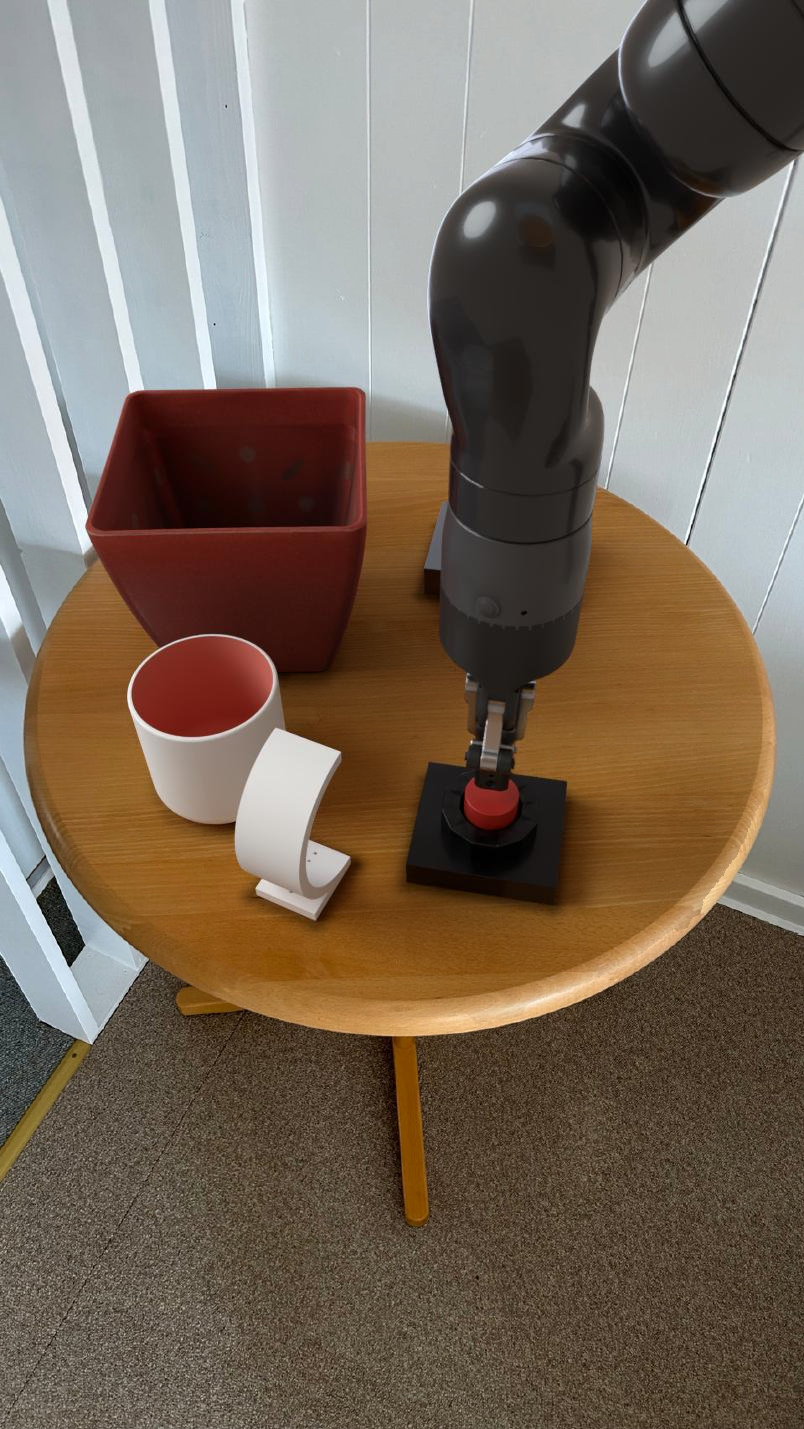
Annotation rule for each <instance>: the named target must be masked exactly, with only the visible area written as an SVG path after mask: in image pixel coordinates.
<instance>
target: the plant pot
mask: <svg viewBox="0 0 804 1429" xmlns="http://www.w3.org/2000/svg"><path fill="white" fill-rule="evenodd" d="M123 401H124V402H123V404H122V408H121V412H120V415H119V417H118V422H117V425H116V428H115V432H114V435H113V438H112V442H111V445H110V448H109V451H108V454H107V457H106V462H105V463H104V464H105V465H104V467H103V470H102V472H101V476H100V479H99V483H98V485H97V489H96V492H95V494H94V497H93V500H92V503H91V506H90V509H89V511H88V515H87V517H86V521H85V524H84V528H85V532H86V534H87V536H88V538H89V541H90V542H91V544H92V547H93V548H94V551H95V553H96V555H97V556H98V558H99V560H100V562H101V564H102V566H103V568H104V570H105V571H106V573H107V575H108V577H109V578H110V581H111V582H112V584H113V586H114V587H115V589H116V591H117V592H118V594H119V595H120V597H121V598H122V600H123V602H124V603H125V605H126V606H127V608H128V609H129V611H130V612H131V614H132V615H133V617H134V618H135V619H136V621H137V622H138V624H139V625H140V626H141V627H142V629H143V631H144V632H145V633H146V634H147V635H148V637H149V638H150V639H151V640H152V642H153V643H154V644H155V645H156V646H157V648H158V649H160V648H162V647H164V646H166V645H168V644H170V643H172V642H175V641H177V640H180V639H183V638H187V637H191V636H197V635H206V634H221V635H229V636H234V637H238V638H241V639H244V640H247V641H249V642H251V643H253V644H255V645H256V646H258V647H259V648H261V649H262V650H263V651H264V652H265V653H266V654H267V655H268V656H269V657H270V658H271V660H272V662H273V663H274V665H275V668H276V671H277V673H290V672H291V673H298V672H299V673H300V672H323V671H327V670H329V669H330V668H331V667H332V666H333V665H334V662H335V660H336V659H337V656H338V653H339V651H340V648H341V646H342V643H343V641H344V638H345V635H346V633H347V629H348V627H349V623H350V620H351V617H352V613H353V609H354V606H355V602H356V598H357V593H358V589H359V586H360V585H359V584H360V580H361V574H362V570H363V563H364V557H365V549H366V542H367V533H368V532H367V530H368V484H367V483H368V482H367V479H368V478H367V440H366V439H367V437H366V433H367V432H366V430H367V429H366V422H367V421H366V418H367V417H366V416H367V415H366V413H367V411H366V410H367V408H366V407H367V395H366V392H365V391H364V390H363V389H362V388H360V387H356V386H323V387H322V386H321V387H319V386H318V387H316V386H315V387H311V386H310V387H259V388H258V387H257V388H255V387H254V388H251V387H250V388H210V389H209V388H205V389H202V388H201V389H200V388H198V389H190V388H189V389H141V390H140V389H139V390H136V391H135V390H134V391H133V392H131V393H129V394H127V396H126V397H125V398H124V400H123Z"/></svg>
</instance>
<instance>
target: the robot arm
mask: <svg viewBox="0 0 804 1429" xmlns="http://www.w3.org/2000/svg"><path fill="white" fill-rule="evenodd" d="M802 154H804V0H645V1H644V2H643V3H642V5H641V6H640V8H639V9H638V11H636V13H635V15H634V16H633V17H632V19H631V21H630V22H629V24H628V26H627V28H626V30H625V31H624V34H623V36H622V39H621V43H620V44H619V45H618V46H617V47H616V48H615V49H614V50H613V51H612V52H611V53H610V54H609V55H608V56H607V57H606V58H605V59H604V60H603V61H602V63H600V64H599V65H598V66H597V67H596V68H595V69H594V70H593V71H592V72H591V73H590V74H589V75H588V77H587V78H585V80H584V81H582V82H581V84H580V85H579V86H578V87H577V88H576V89H575V90H574V91H573V92H572V93H571V94H570V95H569V96H568V97H567V98H566V99H565V100H564V101H563V103H561V104H560V106H558V107H557V108H556V110H554V111H553V113H551V114H550V115H549V116H548V117H546V119H545V120H544V121H543V122H542V123H541V124H540V125H539V126H538V127H537V128H536V129H535V130H533V132H532V133H531V134H530V135H529V136H528V137H526V139H524V140H523V141H522V142H521V143H520V144H519V145H518V146H517V147H516V148H514V149H513V150H512V151H510V152H509V153H508V154H507V155H506V156H504V157H503V158H502V159H501V160H499V162H497V163H496V164H495V165H493V166H492V167H491V168H489V170H487V171H486V172H484V174H482V175H481V176H480V177H478V178H477V179H475V180H474V181H473V182H472V183H471V184H470V185H468V187H466V188H465V189H464V190H463V191H462V192H461V193H460V194H459V195H458V196H457V197H456V198H455V200H454V201H453V202H452V204H451V205H450V207H449V208H448V209H447V211H446V213H445V215H444V216H443V219H442V221H441V223H440V226H439V227H438V229H437V232H436V236H435V239H434V243H433V247H432V251H431V255H430V262H429V269H428V276H427V277H428V278H427V292H426V294H427V296H426V297H427V300H426V302H427V305H426V306H427V317H428V318H427V320H428V327H429V333H430V338H431V344H432V348H433V354H434V358H435V363H436V368H437V373H438V378H439V381H440V386H441V392H442V396H443V400H444V403H445V406H446V407H445V408H446V409H447V413H448V416H449V420H450V422H451V432H450V440H449V441H450V442H449V458H448V459H449V460H448V489H447V491H448V492H447V502H448V505H447V511H446V516H445V520H444V526H443V532H442V548H441V580H440V597H439V618H438V624H439V625H438V633H439V634H438V635H439V641H440V644H441V647H442V649H443V651H444V652H445V654H446V655H447V656H448V658H449V659H450V660H451V661H452V662H453V663H454V664H455V665H456V666H457V667H458V668H459V669H461V670H463V671H464V672H466V677H465V683H464V684H465V685H464V702H465V704H467V705H468V706H467V725H466V730H467V732H468V733H469V734H471V735H473V736H474V738H471V739H470V743H469V745H468V747H467V748H468V749H467V751H465V752H464V758H463V760H464V762H465V761H466V762H465V767H467V768H469V769H471V770H475V779H474V784H475V785H476V786H477V787H479V788H480V789H487V790H494V791H505V790H507V789H508V786H509V779H510V775H511V772H512V770H515V765H516V761H515V759H516V758H515V757H514V755H517V753H518V745H516V743H517V742H518V741H522V740H524V738H525V735H526V728H527V721H528V714H529V712H531V711H533V709H534V702H535V695H536V688H537V680H540V679H543V678H545V677H548V676H549V675H552V674H553V673H554V672H556V671H558V670H559V669H560V668H561V667H563V666H564V664H566V662H567V661H568V660H569V658H570V657H571V655H572V654H573V651H574V649H575V646H576V641H577V635H578V630H579V624H580V619H581V618H580V617H581V612H582V605H583V601H584V595H585V591H586V590H585V588H586V584H587V583H586V582H587V578H588V573H589V572H588V571H589V566H590V562H591V561H590V560H591V555H592V554H591V553H592V547H593V512H594V506H595V501H596V494H597V489H598V483H599V478H600V477H599V476H600V470H601V464H602V458H603V450H604V442H605V432H606V430H605V428H606V426H605V423H606V422H605V413H604V408H603V404H602V401H601V399H600V397H599V395H598V393H597V391H596V390H595V389H594V388H593V387H592V385H591V371H592V364H593V363H592V362H593V357H594V352H595V348H596V344H597V340H598V336H599V332H600V329H601V326H602V322H603V319H604V318H605V316H606V315H607V314H608V313H609V311H610V310H611V309H612V308H613V306H614V305H615V304H616V303H617V301H618V300H619V299H620V298H621V297H622V295H623V294H624V293H625V292H626V291H627V289H628V288H629V287H630V285H631V284H633V282H634V281H635V280H636V279H637V278H639V276H641V274H642V273H644V271H645V270H647V268H649V267H650V266H651V265H652V264H653V263H654V262H655V261H656V260H657V259H658V258H659V257H660V256H662V255H663V253H665V252H666V251H667V250H668V249H669V248H670V247H671V246H672V245H673V244H675V243H676V242H677V241H678V240H679V239H680V238H681V237H683V236H684V235H685V234H686V233H688V231H690V230H691V229H692V228H693V227H694V226H695V225H697V224H698V223H699V222H700V221H701V220H702V219H704V218H705V217H706V216H707V215H708V214H709V213H710V212H712V211H713V210H714V209H715V208H716V207H717V206H719V204H721V203H722V202H723V201H724V200H725V199H727V198H733V197H737V196H740V195H743V194H745V193H747V192H749V191H751V190H753V189H755V188H756V187H758V186H759V185H761V184H762V183H764V182H766V181H767V180H769V179H770V178H772V177H773V176H774V175H776V174H778V173H779V172H780V171H782V170H783V169H785V167H787V166H788V165H789V164H791V163H793V162H794V161H795V160H796V159H797V158H799V157H800V156H801V155H802Z"/></svg>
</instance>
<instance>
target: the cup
mask: <svg viewBox="0 0 804 1429" xmlns="http://www.w3.org/2000/svg"><path fill="white" fill-rule="evenodd" d="M278 676H279V675H278V672H277V671H276V668H275V665H274V663H273V662H272V660H271V658H270V657H269V656H268V655H267V654H266V653H265V652H264V651H263V650H262V649H261V648H259V647H258V646H256V645H255V644H253V643H251V642H249V641H247V640H244V639H241V638H238V637H234V636H229V635H221V634H206V635H197V636H191V637H187V638H183V639H180V640H177V641H175V642H172V643H170V644H168V645H166V646H164V647H162V648H158V649H157V650H155V651H154V652H153V653H151V654H150V655H149V656H147V657H146V658H145V659H144V660H143V661H142V662H141V663H140V664H139V666H137V668H136V670H135V671H134V672H133V674H132V676H131V679H130V681H129V684H128V688H127V695H126V696H127V705H128V709H129V712H130V715H131V718H132V721H133V724H134V728H135V730H136V733H137V734H136V735H137V738H138V739H139V743H140V746H141V749H142V752H143V755H144V759H145V761H146V765H147V767H148V771H149V774H150V777H151V781H152V783H153V786H154V789H155V791H156V794H157V795H158V797H159V798H160V800H161V801H162V803H163V804H164V805H165V806H166V807H167V808H168V809H169V810H171V811H172V812H173V813H175V814H176V815H177V816H179V817H182V818H183V819H185V820H186V819H187V820H189V821H191V822H194V823H199V824H204V825H205V824H206V825H223V824H230V823H234V822H235V823H236V820H237V814H238V809H239V805H240V801H241V798H242V795H243V791H244V788H245V785H246V783H247V780H248V777H249V775H250V772H251V770H252V768H253V765H254V763H255V761H256V759H257V757H258V755H259V753H260V751H261V750H262V748H263V746H264V744H265V743H266V741H267V739H268V738H269V736H270V735H271V733H272V732H273V731H274V729H275V728H278V729H281V730H284V731H286V732H287V729H286V723H285V717H284V716H285V715H284V710H283V702H282V696H281V695H282V694H281V689H280V683H279V677H278Z"/></svg>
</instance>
